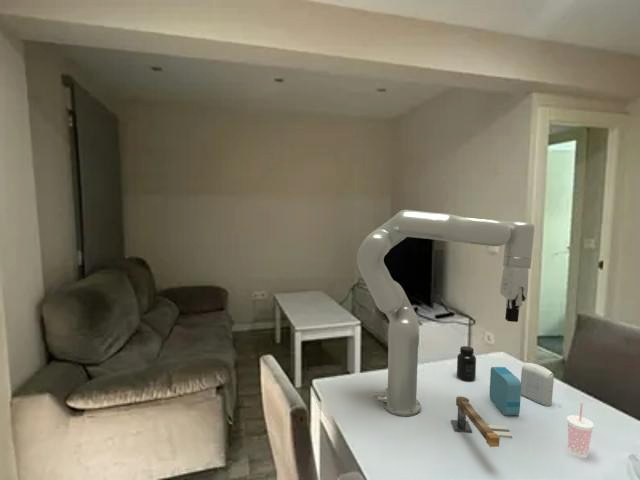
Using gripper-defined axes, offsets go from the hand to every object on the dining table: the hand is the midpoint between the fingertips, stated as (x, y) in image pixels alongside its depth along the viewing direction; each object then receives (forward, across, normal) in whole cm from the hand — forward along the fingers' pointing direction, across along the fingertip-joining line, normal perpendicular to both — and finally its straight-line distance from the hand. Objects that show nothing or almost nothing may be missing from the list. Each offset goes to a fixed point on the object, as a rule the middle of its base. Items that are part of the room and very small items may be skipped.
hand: (511, 320), depth 119 cm
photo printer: (+32, -15, +15) cm, 38 cm away
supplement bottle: (+32, -28, -5) cm, 43 cm away
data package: (+32, -7, +3) cm, 33 cm away
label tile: (+32, +8, -4) cm, 33 cm away
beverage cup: (+32, +14, +15) cm, 38 cm away
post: (+32, +7, -14) cm, 36 cm away
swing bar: (+26, +16, -12) cm, 33 cm away
